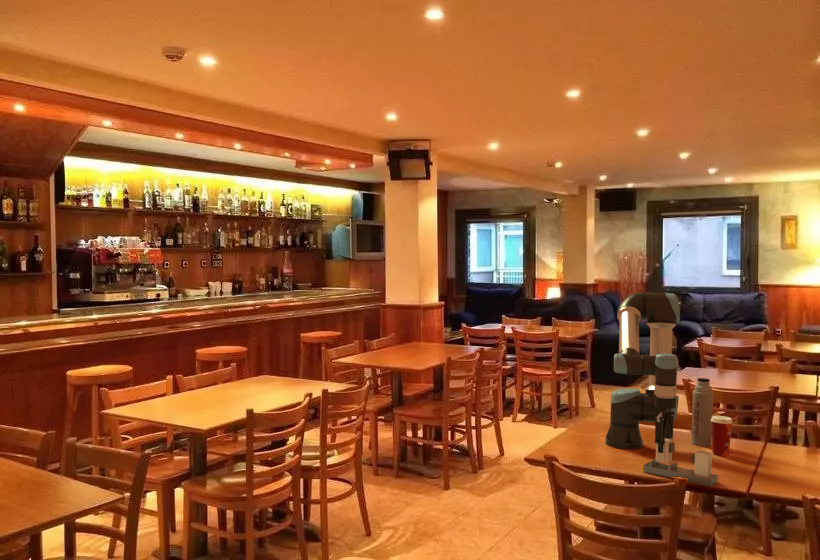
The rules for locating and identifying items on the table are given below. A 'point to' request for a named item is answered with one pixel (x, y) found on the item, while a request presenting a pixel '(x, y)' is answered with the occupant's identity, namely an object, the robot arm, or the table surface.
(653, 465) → the rail
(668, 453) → the cream rectangular block
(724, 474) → the table surface
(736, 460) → the table surface
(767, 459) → the table surface
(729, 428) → the coffee cup
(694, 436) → the thermos bottle
